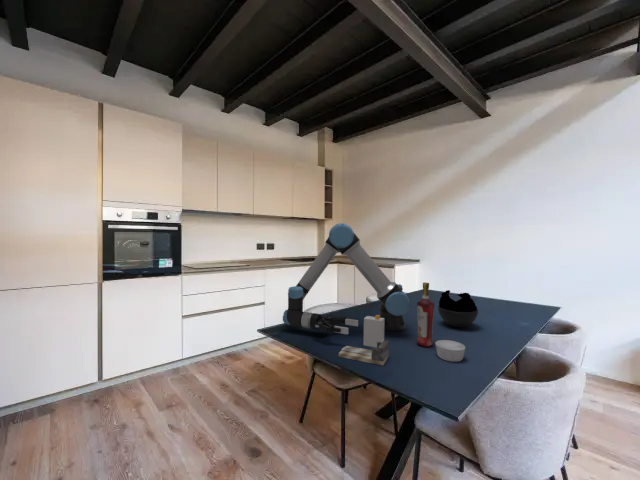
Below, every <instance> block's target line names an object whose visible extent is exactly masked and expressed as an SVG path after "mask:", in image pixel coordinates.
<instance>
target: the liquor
mask: <svg viewBox="0 0 640 480" xmlns="http://www.w3.org/2000/svg"><path fill="white" fill-rule="evenodd" d="M429 289H430V283H429V282H422V298H421V299H420V300H418V301H417V302H416V309H417V310H416V312H417V313H416V315H417V317H416V318H417V340H416V343H418V345H419V346H421V347H424V348H429V347H431V346H432V345H433V344H434V343H433V329H434V328H433V327H434V325H433V324H434V315H435V314H434V312H435V303H434V302H433V301H431V300H430V294H429V292H430V291H429Z"/></svg>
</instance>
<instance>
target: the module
mask: <svg viewBox="0 0 640 480" xmlns="http://www.w3.org/2000/svg"><path fill="white" fill-rule="evenodd" d="M384 340H385V330H384V318H380V315H379V314H376V315H375V316H370V315H366V316H365V317H364V318H363V346H365V347H371V348H376V349H377V342H383V341H384Z"/></svg>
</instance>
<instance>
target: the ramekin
mask: <svg viewBox="0 0 640 480" xmlns="http://www.w3.org/2000/svg"><path fill="white" fill-rule="evenodd" d="M434 343H435V348H436V354H437V357H438V358H439V359H441V360H443V361H447V362H453V363H454V362H456V363H458V362H462V360H463V359H464V356H465V351H466V346H465V345H464V344H463V343H462V342H458V341H455V340H448V339H439V340H436V341H435V342H434Z"/></svg>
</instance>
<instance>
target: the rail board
mask: <svg viewBox="0 0 640 480" xmlns="http://www.w3.org/2000/svg"><path fill="white" fill-rule="evenodd" d="M389 344H390V341H389V340H385V339H384V341H383V342H377V348H376V347H371V349H366V348H360V347H355V346H351V345H350V346H349V345H346V346H344V347H342V348H341V350H340V351H339V352H338V358H343V359H349V360H353V361H359V362H363V363H369V364H373V365H377V366H384V365H385V363H386V362H387V360H388V358H389V355H390V354H389V353H390V352H389V350H390V347H389V346H390V345H389Z"/></svg>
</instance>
